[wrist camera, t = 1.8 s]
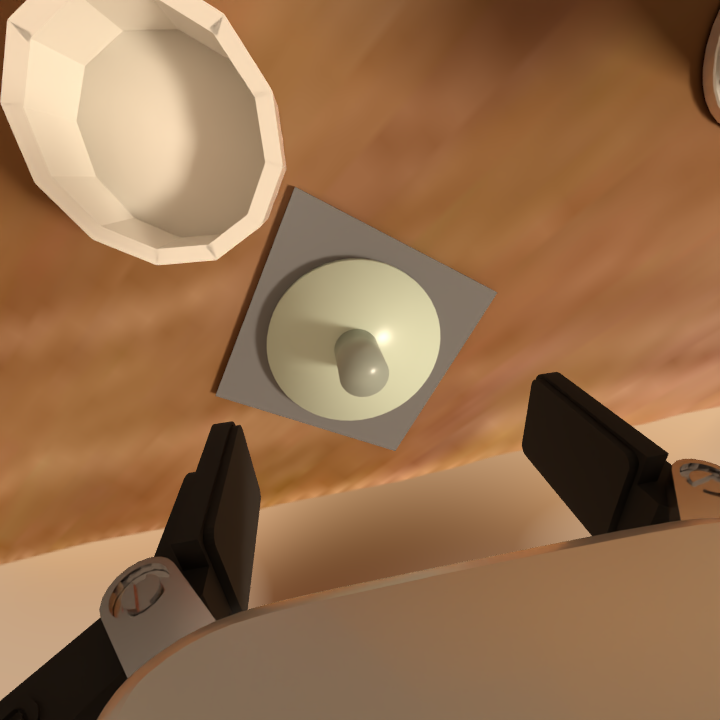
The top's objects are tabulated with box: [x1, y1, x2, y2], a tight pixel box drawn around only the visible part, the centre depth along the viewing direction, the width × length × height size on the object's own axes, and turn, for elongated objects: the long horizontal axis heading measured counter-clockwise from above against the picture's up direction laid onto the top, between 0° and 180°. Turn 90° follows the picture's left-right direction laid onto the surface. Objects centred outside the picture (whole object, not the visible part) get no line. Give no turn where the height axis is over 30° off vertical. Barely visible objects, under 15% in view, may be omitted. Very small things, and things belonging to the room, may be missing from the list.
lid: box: [267, 258, 440, 421], centre depth 31 cm, size 16×16×6 cm
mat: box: [216, 187, 497, 451], centre depth 34 cm, size 20×20×1 cm
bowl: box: [0, 0, 286, 265], centre depth 23 cm, size 14×14×6 cm
